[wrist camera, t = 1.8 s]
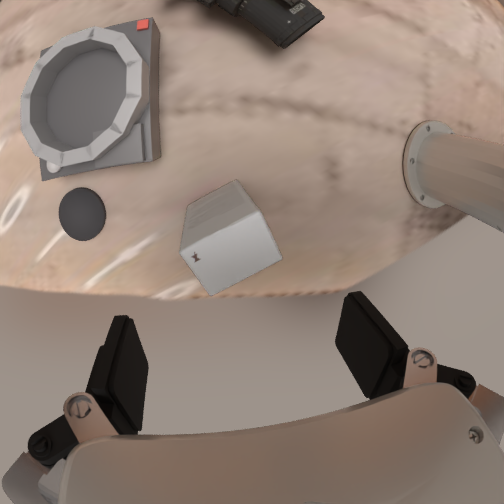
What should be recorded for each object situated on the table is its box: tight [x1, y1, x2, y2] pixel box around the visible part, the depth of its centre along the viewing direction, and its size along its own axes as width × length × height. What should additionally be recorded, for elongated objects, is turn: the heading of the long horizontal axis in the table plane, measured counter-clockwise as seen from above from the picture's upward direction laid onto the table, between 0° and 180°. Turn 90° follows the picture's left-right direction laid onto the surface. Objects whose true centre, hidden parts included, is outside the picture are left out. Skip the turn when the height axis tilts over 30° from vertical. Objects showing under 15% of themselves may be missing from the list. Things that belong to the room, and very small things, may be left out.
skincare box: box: [179, 180, 283, 296], centre depth 23 cm, size 6×4×12 cm
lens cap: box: [59, 187, 106, 241], centre depth 26 cm, size 6×6×1 cm
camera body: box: [21, 17, 161, 181], centre depth 18 cm, size 12×14×8 cm
